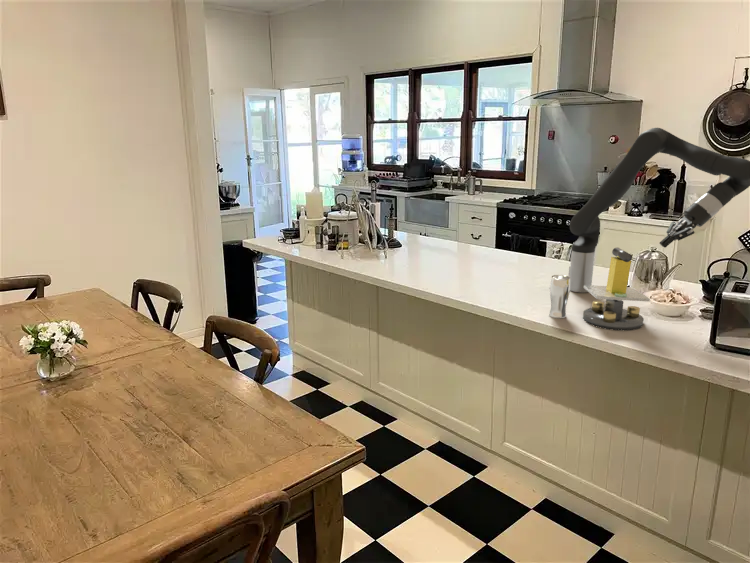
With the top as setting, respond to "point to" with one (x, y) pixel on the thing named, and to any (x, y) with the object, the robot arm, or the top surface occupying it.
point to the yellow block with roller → (617, 280)
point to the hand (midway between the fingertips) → (662, 245)
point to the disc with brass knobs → (613, 315)
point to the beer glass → (559, 295)
